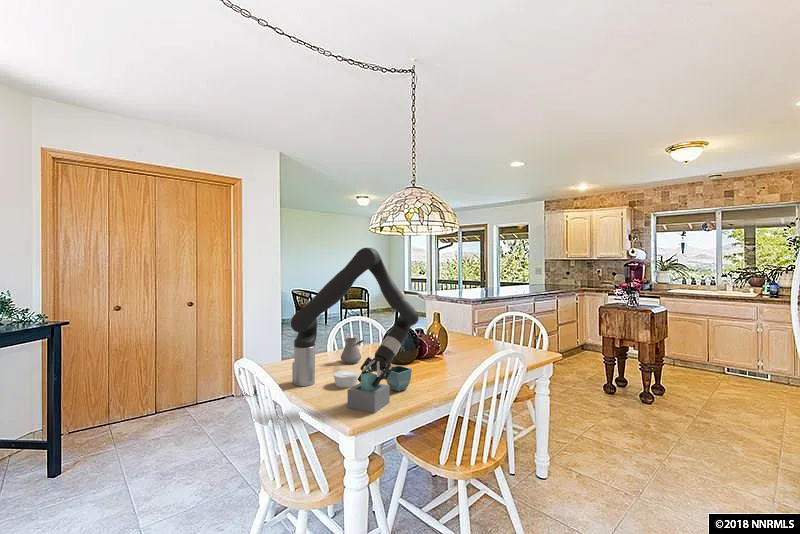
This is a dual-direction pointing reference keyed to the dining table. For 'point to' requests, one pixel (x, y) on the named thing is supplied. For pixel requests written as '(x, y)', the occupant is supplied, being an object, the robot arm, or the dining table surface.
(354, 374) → the ramekin
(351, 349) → the coffee pot
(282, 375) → the dining table surface
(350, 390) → the box
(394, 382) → the flower pot
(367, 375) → the teal post
